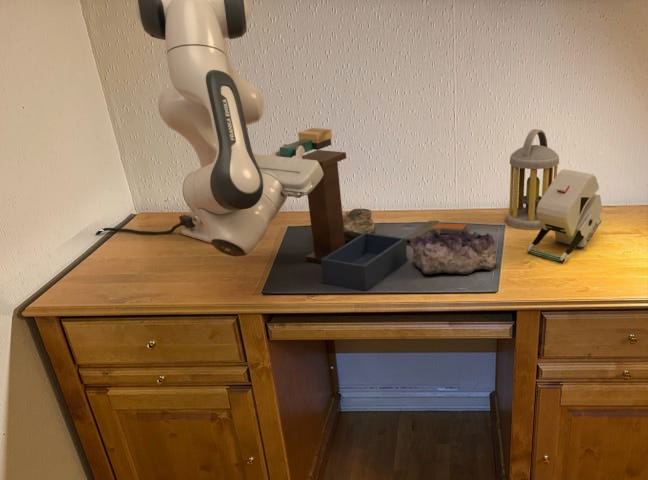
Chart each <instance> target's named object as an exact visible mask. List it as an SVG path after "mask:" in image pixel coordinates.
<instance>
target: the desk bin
mask: <svg viewBox="0 0 648 480" xmlns="http://www.w3.org/2000/svg"><path fill="white" fill-rule="evenodd" d="M406 239H407V237H398V236H392V235H386V234H378V233H375V234H372V233H363V234H362V235H360V236H358V237H357V238H355V239H353V240H352V241H348V242H347V243H345V245H344V246H342V247H340V248H339V249H337V250H335V251H334V252H332V253H330V254H329V255H327V256H325V257H324V258H322V259H321V263H320V266H321V274H322V282H323V283H322V284H327V285H333V286H339V287H344V288H349V289H354V290H360V291H366V292H367V291H369V290H370V289H371V288H372V287H374V286H375V285H377V284H378V283H379V282H381V281H382V280H383V279H384V278H386V277H387V276H388V275H390V274H391V273H393V272H394V271H395V270H396V269H398V268H400V267H401V266H402V265H404V264H405V263H407V261H408V256H407V255H408V254H407V253H408V252H407V244H406Z"/></svg>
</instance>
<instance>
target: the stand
mask: <svg viewBox="0 0 648 480" xmlns="http://www.w3.org/2000/svg"><path fill="white" fill-rule="evenodd" d="M302 159H308V160H316V161H318V162H319V164H320V166H321V168H322V170H323V177H322V179H321V180H320V181H319V183H318V184H317V185H316V186H315V188H314V189H313V190H312V191H311V192H310V193H309V194H308V195H306V196H307V203H308V212H309V220H310V229H311V236H312V244H313V252H311V253H310V254H307V255H306V256H305V261H306V262H311V263H316V264H321V259H322V258H324V257H325V256H327V255H329V254H330V253H332V252H334V251H335V250H337V249H339V248H340V247H342V246H344V245H345V244H346V240H345V236H344V226H343V215H344V214H343V206H342V194H341V185H340V174H339V165H338V163H339V162H341V161H343V160H346V159H347V152H345V151H335V150H323V149H319V150H314V151H310V152H309V153H308V152H307V153H305V154H303V156H302Z"/></svg>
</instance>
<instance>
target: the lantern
mask: <svg viewBox="0 0 648 480" xmlns="http://www.w3.org/2000/svg"><path fill="white" fill-rule="evenodd" d="M536 136H538V141H539V144H533V142H534V140H535V137H536ZM509 164H510V176H509V177H510V179H509V208H508V209H509V210H508V213H507V214H506V216H505V223H507V225H508V226H511V227H513V228H516V229H520V230H521V229H522V230H541V229H542V226H541V224H540V222H539V219H538V217H537V212H536V210H537V205H538V203H539V201H540V200H541V198H542V197H543V195H544V194H545V192H546V191H547V189H548V188H549V186H550V185H551V183H552V182H553V180H554V179H555V177H556V176H557V174H558V167H559V165H560V156H559V154H558V153H557V152H556V151H555V150H553V149H552V148H550V147H549V146H548V139H547V136H546V133H545V132H544V130H542V129H537V128H533V129H531V130H530V131H529V132H528V133H527V135H526V137H525V140H524V142H523V146H522V147H520V148H517V149H516V150H515V151H514V152H513V153H511V154H510V157H509ZM526 170H530V171H529V177H527V180H525V179H526V178H525V177H526ZM538 170H542V185H541V186H542V187H541V195H540V184H541V179H540V178H539V177H538ZM525 181H526V189H525ZM525 190H526V191H525ZM525 194H526V195H525ZM524 205H525V207H524Z"/></svg>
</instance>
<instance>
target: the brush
mask: <svg viewBox="0 0 648 480" xmlns="http://www.w3.org/2000/svg"><path fill="white" fill-rule="evenodd" d="M297 135H298V140H297V141H294V142H292V143H288V144H287V145H285V146H282V145H281V146H282V147H281V146H280V147H279V149H280V155H281V157H288V158H292V157H293V156H296V155H295V153H294V151H293V150H294V148H295V146H297V145H298V146H303V148H304V150H305V152H304V154H306V153H308V152H312V151H313V150H314V151H316V150H323V149H324V148H327V147H330V146H332V138H333V134H332V129H331V128H321V127H311V128H309V129H305V130H302V131H299V132H297Z"/></svg>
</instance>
